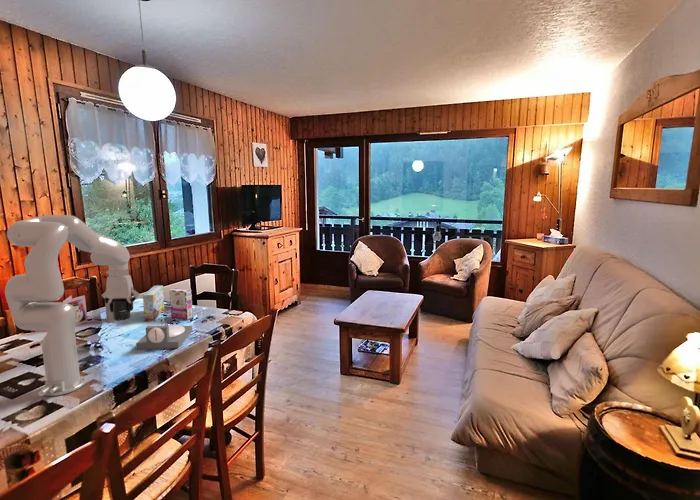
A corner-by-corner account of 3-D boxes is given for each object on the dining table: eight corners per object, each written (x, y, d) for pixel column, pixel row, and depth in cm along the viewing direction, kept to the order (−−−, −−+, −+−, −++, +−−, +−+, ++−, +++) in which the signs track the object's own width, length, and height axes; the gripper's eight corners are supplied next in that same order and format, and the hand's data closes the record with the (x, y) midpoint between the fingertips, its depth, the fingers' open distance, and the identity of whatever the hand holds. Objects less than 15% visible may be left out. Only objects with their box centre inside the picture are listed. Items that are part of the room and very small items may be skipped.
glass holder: (113, 316, 206) (110, 290, 204) (137, 317, 205) (135, 291, 203) (102, 321, 197) (99, 295, 195) (127, 322, 197) (125, 295, 194)
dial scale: (177, 348, 165) (176, 327, 163) (135, 350, 163) (134, 328, 162) (192, 331, 185) (191, 312, 184) (155, 332, 184) (153, 313, 182)
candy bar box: (193, 317, 206) (192, 289, 203) (187, 320, 201) (185, 291, 198) (177, 315, 209) (175, 287, 206) (170, 318, 204) (168, 289, 201)
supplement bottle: (122, 321, 165) (120, 295, 164) (109, 320, 167) (107, 294, 165) (134, 316, 172) (132, 292, 170) (122, 315, 173) (120, 291, 172)
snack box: (155, 321, 199) (153, 294, 197) (143, 322, 198) (141, 295, 196) (165, 309, 220) (163, 284, 217) (155, 309, 218) (153, 285, 216)
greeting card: (67, 329, 186) (64, 301, 184) (56, 328, 188) (53, 300, 185) (88, 322, 197) (85, 295, 194) (78, 320, 199) (75, 294, 196)
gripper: (93, 275, 162) (97, 314, 164) (135, 274, 164) (137, 313, 166) (103, 271, 169) (106, 309, 172) (142, 271, 171) (145, 308, 173)
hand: (121, 310), depth 169 cm, fingers closed on supplement bottle, 6 cm apart
